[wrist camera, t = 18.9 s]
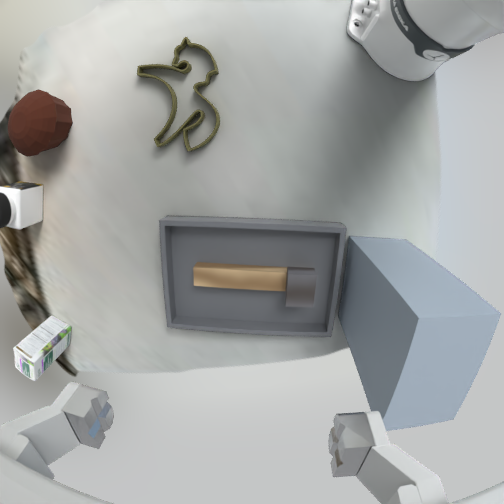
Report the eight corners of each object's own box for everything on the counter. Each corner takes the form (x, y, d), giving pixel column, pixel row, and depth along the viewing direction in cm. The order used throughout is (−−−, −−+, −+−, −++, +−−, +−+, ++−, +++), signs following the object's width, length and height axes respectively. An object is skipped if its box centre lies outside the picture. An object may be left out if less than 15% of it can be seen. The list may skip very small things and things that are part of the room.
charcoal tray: (166, 215, 48) (159, 220, 44) (341, 222, 46) (346, 227, 43) (173, 317, 53) (167, 327, 50) (328, 325, 52) (331, 336, 48)
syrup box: (70, 345, 58) (36, 383, 44) (50, 332, 57) (14, 368, 44) (72, 326, 56) (34, 364, 42) (51, 313, 56) (11, 348, 42)
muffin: (27, 143, 45) (-9, 145, 35) (45, 88, 42) (10, 82, 32) (66, 162, 46) (30, 167, 36) (88, 103, 43) (53, 96, 33)
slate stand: (349, 235, 47) (418, 318, 22) (405, 239, 46) (501, 313, 22) (338, 315, 51) (377, 431, 26) (391, 315, 51) (453, 419, 26)
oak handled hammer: (196, 256, 49) (188, 268, 44) (312, 262, 48) (317, 275, 43) (197, 285, 50) (189, 300, 45) (309, 291, 49) (312, 307, 44)
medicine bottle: (44, 184, 47) (0, 194, 36) (43, 221, 49) (1, 237, 38) (20, 181, 47) (-22, 190, 36) (20, 216, 49) (-21, 231, 38)
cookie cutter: (138, 60, 41) (133, 57, 39) (208, 34, 39) (206, 30, 37) (162, 160, 46) (158, 160, 44) (236, 138, 44) (235, 137, 42)
